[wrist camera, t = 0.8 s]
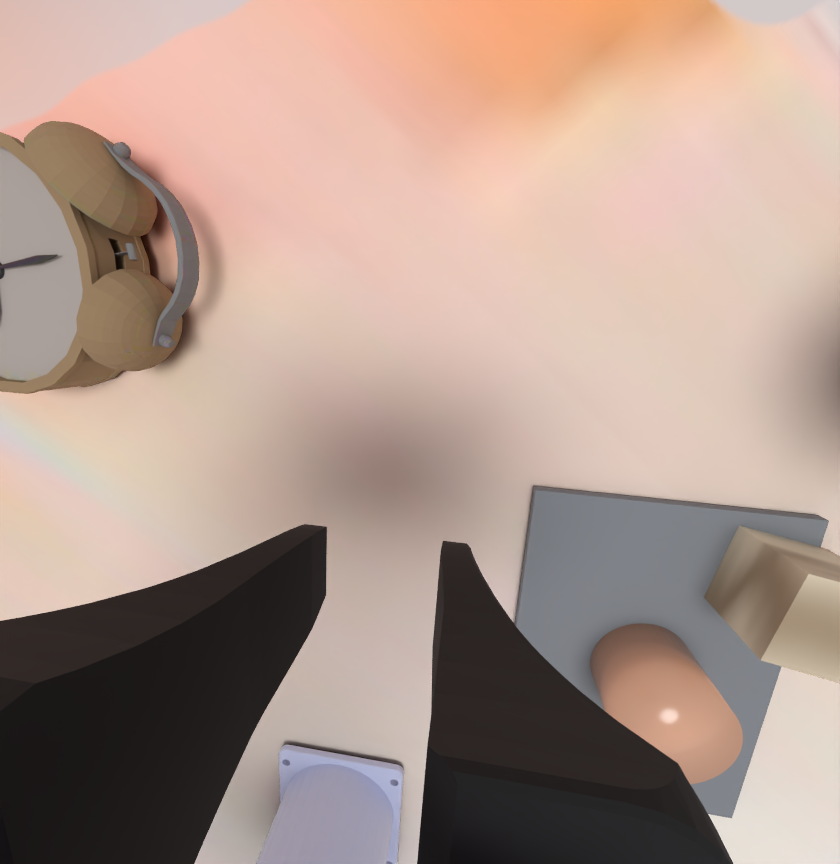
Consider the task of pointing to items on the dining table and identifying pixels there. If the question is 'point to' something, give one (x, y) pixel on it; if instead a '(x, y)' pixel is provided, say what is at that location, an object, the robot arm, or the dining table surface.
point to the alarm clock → (83, 262)
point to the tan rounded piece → (666, 698)
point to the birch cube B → (781, 601)
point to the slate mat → (647, 594)
